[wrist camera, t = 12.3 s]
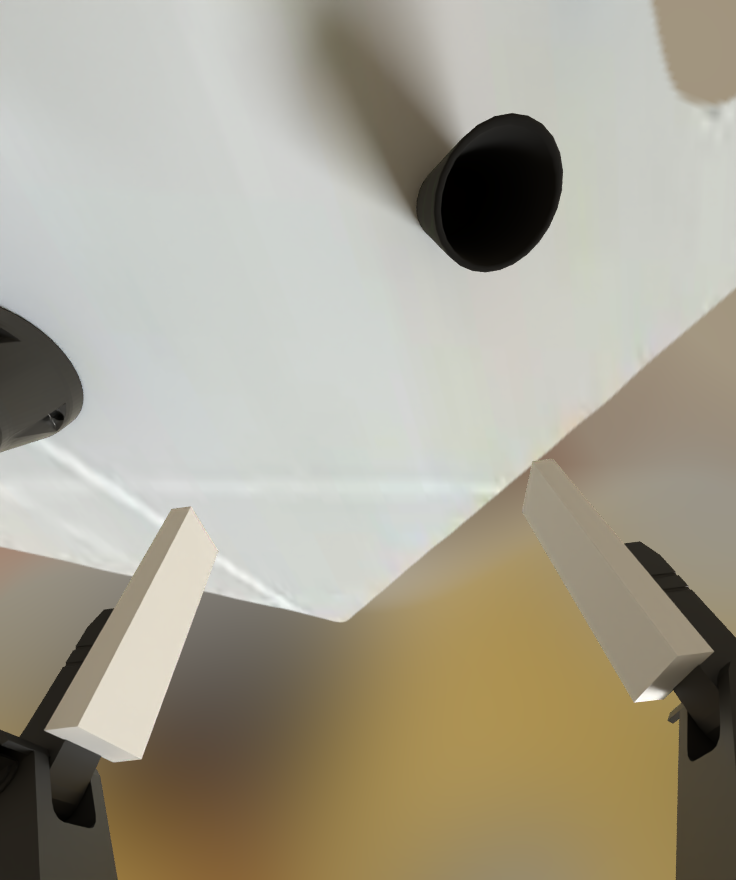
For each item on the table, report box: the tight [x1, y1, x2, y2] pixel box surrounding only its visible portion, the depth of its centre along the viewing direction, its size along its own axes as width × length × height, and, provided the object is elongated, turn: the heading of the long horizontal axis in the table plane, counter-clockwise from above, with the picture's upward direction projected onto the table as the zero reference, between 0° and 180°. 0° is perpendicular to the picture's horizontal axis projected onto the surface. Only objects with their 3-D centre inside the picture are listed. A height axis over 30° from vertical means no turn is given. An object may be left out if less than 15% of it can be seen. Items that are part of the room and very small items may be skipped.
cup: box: [417, 113, 563, 272], centre depth 25 cm, size 8×8×12 cm
